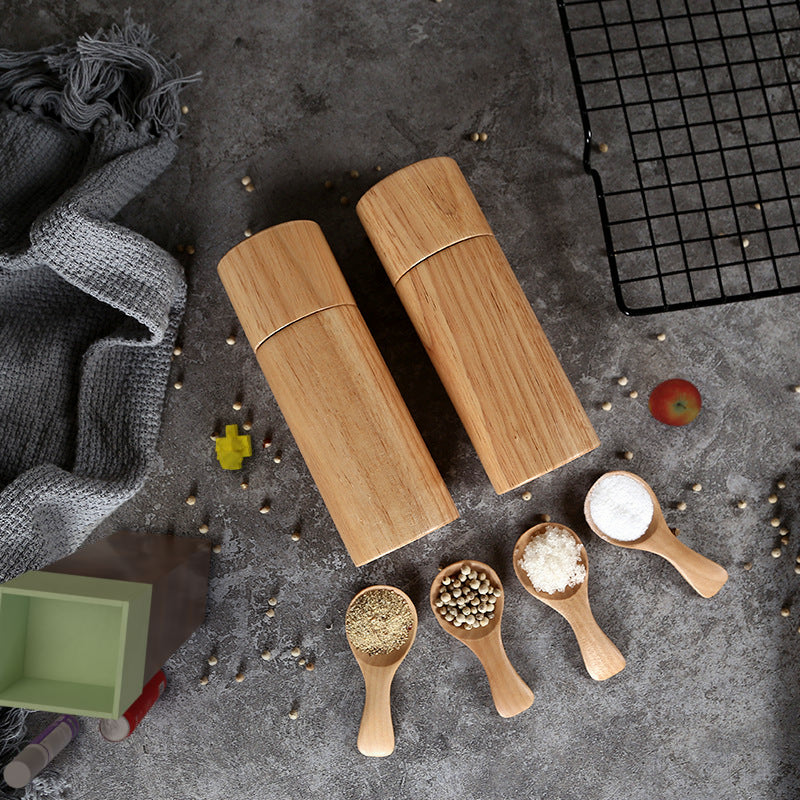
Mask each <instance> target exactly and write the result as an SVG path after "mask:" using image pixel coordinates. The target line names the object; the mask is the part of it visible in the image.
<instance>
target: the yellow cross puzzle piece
mask: <svg viewBox="0 0 800 800" xmlns="http://www.w3.org/2000/svg"><path fill="white" fill-rule="evenodd" d="M252 451H253V450H252V440H251V435H250V434H245V435H244V434H243V435H239V428H238V423H237V424H226V425H225V436H223V437H216V438H215V452H216V460H217V461H219V464H220V467H221V468H222V470H229V471H233V470H240V469H242V467H243V466H242V462H243V460H244V458H246V457H252V456H253V452H252Z"/></svg>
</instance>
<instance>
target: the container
mask: <svg viewBox="0 0 800 800" xmlns="http://www.w3.org/2000/svg"><path fill="white" fill-rule="evenodd" d="M80 727H81V725H80V721H79V720H78V718H77V717H76V715H73V714H65V713H62V714H60V715H59V716H58V717H57V718H56V719H55V720H53V722H52V723H50V724H49V725H48V726H47V727H46V728H45V729H43V731H42V732H40V733H39V734H38V735H37V736H36V737H35V738H34V739H32V741H31V742H30V743H29V744H27V745H26V746H25V747H24V748H23V749H22V750H20V752H19V753H18V754H17V755H16V756H15V757H14V758H13V759H12V760H11V761H10V762H8V764H7V765H6V766H5V767H4V769H3V779H4V781H5V783H6V784H7V785H8V786H9V787H12V788H14V789H22V788H24V787H26V786H27V785H28V784H29V783H30V782H31V781H32V780H33V779H34V778H35V777H36V776H37V775H38V774H40V772H42V770H43V769H44V768H45V767H46V766H48V765H49V763H51V762H52V760H54V758H56V757H57V756H58V755H59V754H60V752H61V751H63V749H64V748H65V747H66V746H67V745H68V744H69V743H70V742H71V741H72V740H73V739H74V738H75V737H76V736H77V735H78V734H79V731H80Z"/></svg>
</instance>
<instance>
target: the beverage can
mask: <svg viewBox="0 0 800 800" xmlns="http://www.w3.org/2000/svg"><path fill="white" fill-rule="evenodd" d="M167 682H168V681H167V677H166V675H165V672H163V670H161V669H160V670H159V671H158V672H157V673H156V674H155V675H154V676H153V677H152V678H151V679H150V681H149V682H148V683H147V684H146V685H145V686H144V687H143V688H142V694H141V695H140V696H139V697H138V698H137V699H136V700H135V701H134V702H133V704H132V705H131V706H130V707H129V708H128V709H127V710H126V711H125V712H124V713H123V715H122V716H121V717H120V718H119V719H118V720H114V719H106V718H100V721H99V723H98V731H99V734H100V736H101V737H102V738H103V739H104V740H105V741H107V742H109V743H112V744H113V743H114V744H115V743H120V742H123V741H124V740H127V739H128V738H129V737H131V735H132V734H133V733H134V732H135V730H136V729H137V728H138V726H139V725H140V724H141V722H142V721H143V720H144V718H145V717H146V716H147V715H148V713H149V711H150V710H151V709H152V708H153V706H154V705H155V703H156V702H157V701H158V699H160V696H161V695H162V694H163V693H164V691H165V689H166V687H167V684H168V683H167Z"/></svg>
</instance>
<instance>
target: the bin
mask: <svg viewBox="0 0 800 800" xmlns="http://www.w3.org/2000/svg"><path fill="white" fill-rule="evenodd" d="M151 595H152V584H145V583H136V582H127V581H119V580H110V579H102V578H93V577H85V576H76V575H67V574H59V573H50V572H42V571H37V570H31V569H30V570H28V571H26V572H24V573H21V574H19V575H17V576H16V577H13V578H11V579H9V580H7V581H5V582H3V583H0V706H1V707H10V708H16V709H17V708H18V709H25V710H33V711H41V712H49V713H50V712H51V713H58V714H71V715H73V716H81V717H91V718H99V719H101V718H106V719H114V720H118V719H119V718H120V717H121V716H122V715H123V713H124V712H125V711H126V710H127V709H128V708H129V707H130V706H131V705H132V704H133V702H134V701H135V700H136V699H137V698H138V697H139V696H140V695H141V694H142V688H143V677H144V667H145V657H146V647H147V636H148V626H149V616H150V605H151Z"/></svg>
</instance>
